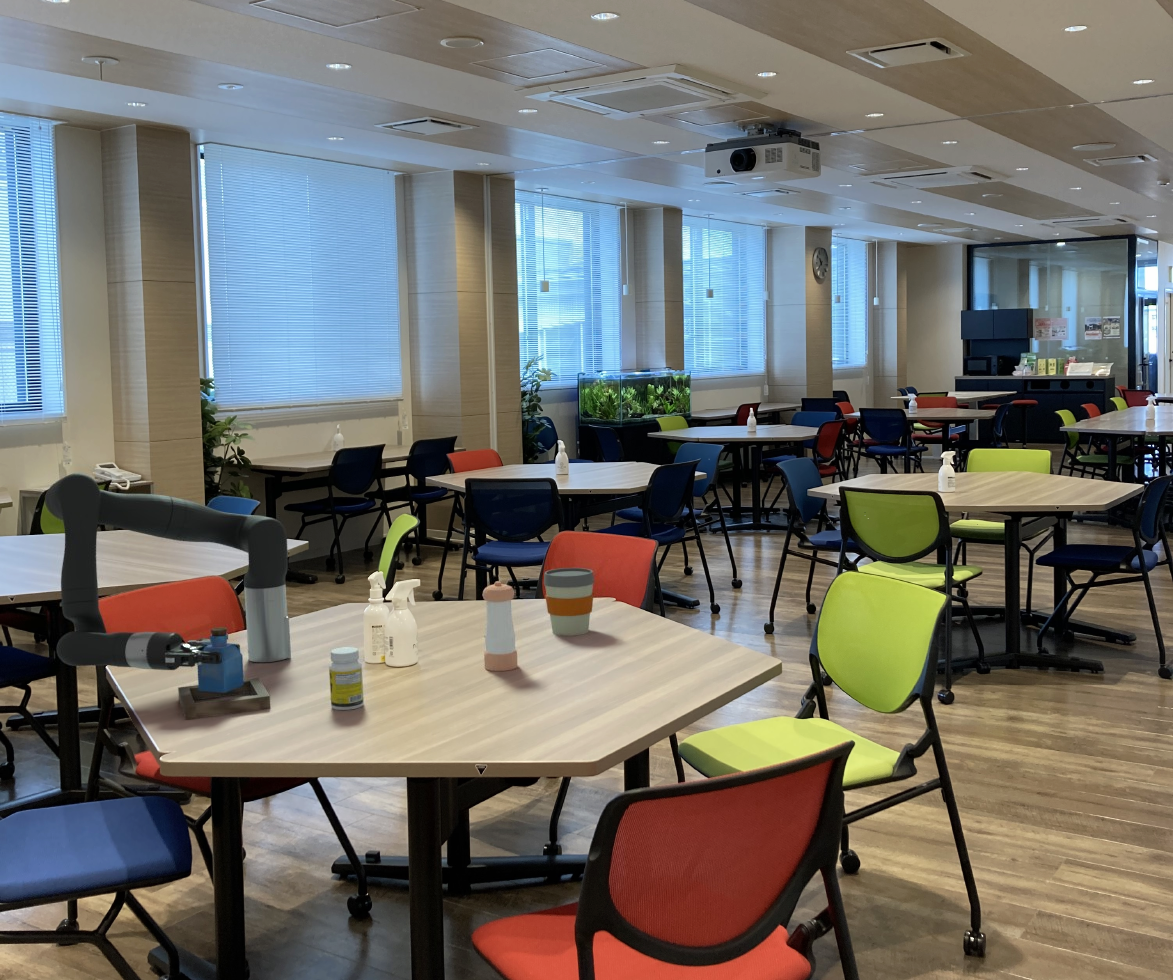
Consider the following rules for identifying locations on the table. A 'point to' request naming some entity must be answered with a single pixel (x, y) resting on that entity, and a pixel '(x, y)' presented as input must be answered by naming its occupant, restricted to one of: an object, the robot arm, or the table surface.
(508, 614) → the pepper shaker
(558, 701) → the table surface
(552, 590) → the reusable coffee cup
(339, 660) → the supplement bottle
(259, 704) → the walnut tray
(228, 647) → the perfume bottle
